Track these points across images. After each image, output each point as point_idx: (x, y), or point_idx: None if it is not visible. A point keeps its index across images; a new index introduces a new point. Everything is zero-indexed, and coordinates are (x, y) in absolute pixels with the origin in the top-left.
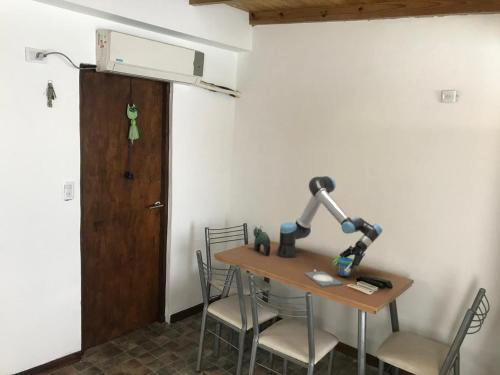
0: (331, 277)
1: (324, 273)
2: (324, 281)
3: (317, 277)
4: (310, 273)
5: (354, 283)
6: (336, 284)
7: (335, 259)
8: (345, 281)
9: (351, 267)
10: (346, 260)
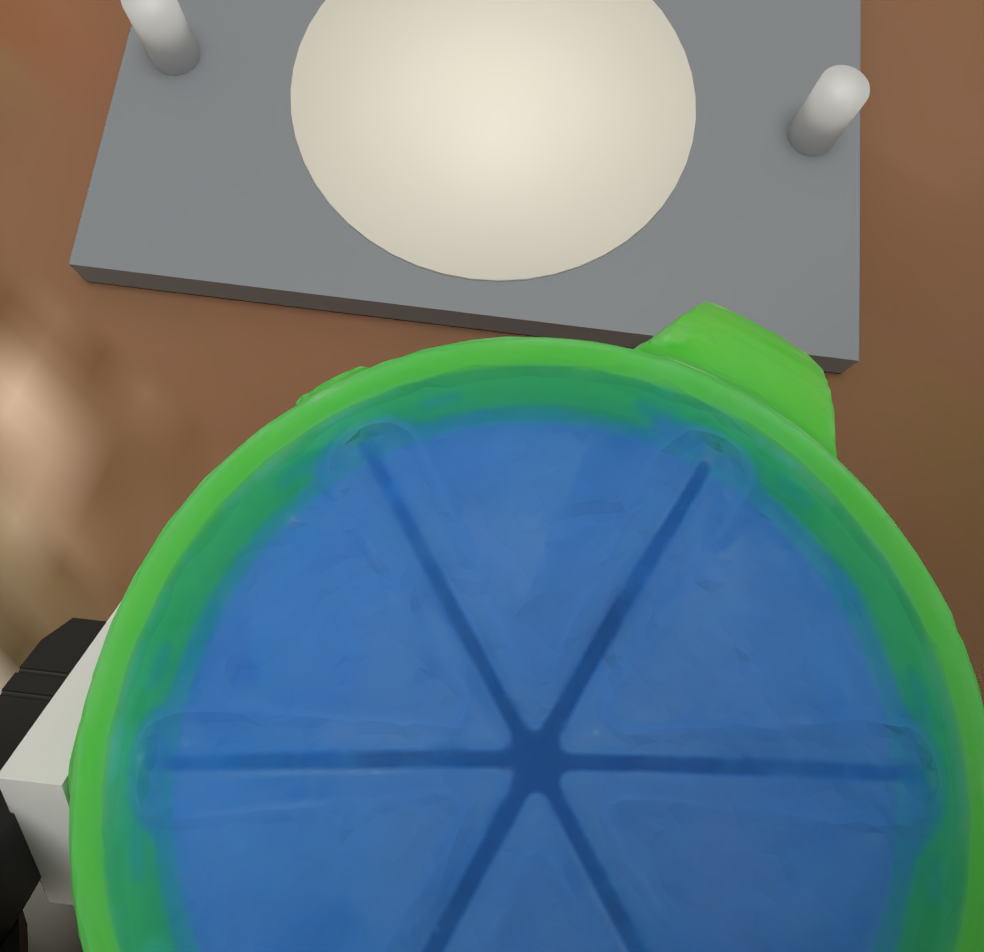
0: (446, 271)
1: (722, 299)
2: (319, 9)
3: (550, 15)
4: (801, 37)
5: (23, 605)
6: (109, 140)
7: (818, 393)
8: None
9: (40, 670)
10: (524, 841)
